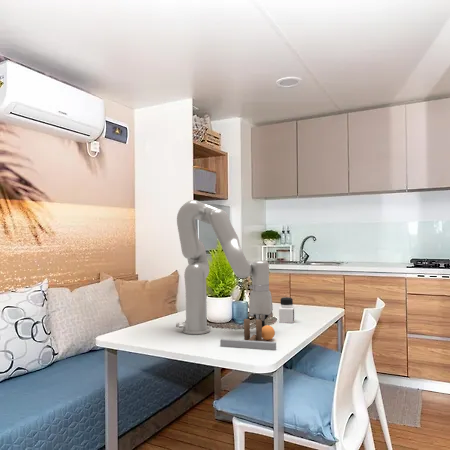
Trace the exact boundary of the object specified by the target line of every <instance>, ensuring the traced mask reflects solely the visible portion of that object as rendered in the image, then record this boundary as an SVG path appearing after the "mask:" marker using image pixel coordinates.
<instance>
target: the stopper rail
mask: <svg viewBox="0 0 450 450" xmlns="http://www.w3.org/2000/svg"><path fill="white" fill-rule="evenodd" d="M219 342H220V345H219V346H220V347H227V348H240V349H241V348H242V349H253V350H254V349H255V350H256V349H257V350H267V351H269V350H270V351H276V349H277V341H267V340H265V341H263V340H262V341H250V340H244V339H232V338H231V339H230V338H221V339H220V341H219Z"/></svg>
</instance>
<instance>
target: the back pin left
mask: <svg viewBox="0 0 450 450" xmlns="http://www.w3.org/2000/svg"><path fill="white" fill-rule="evenodd" d="M243 334H244V335H243V340H249V338H250V337H251V320H250V318H244V319H243Z"/></svg>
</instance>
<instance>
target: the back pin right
mask: <svg viewBox="0 0 450 450" xmlns="http://www.w3.org/2000/svg"><path fill="white" fill-rule="evenodd" d="M255 335H256V341H263V338H262V320H260V319H258V320H257V319H255Z"/></svg>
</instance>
